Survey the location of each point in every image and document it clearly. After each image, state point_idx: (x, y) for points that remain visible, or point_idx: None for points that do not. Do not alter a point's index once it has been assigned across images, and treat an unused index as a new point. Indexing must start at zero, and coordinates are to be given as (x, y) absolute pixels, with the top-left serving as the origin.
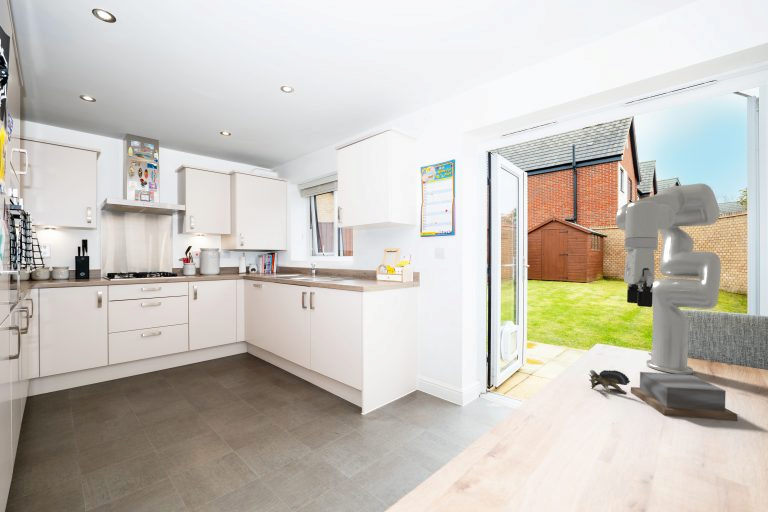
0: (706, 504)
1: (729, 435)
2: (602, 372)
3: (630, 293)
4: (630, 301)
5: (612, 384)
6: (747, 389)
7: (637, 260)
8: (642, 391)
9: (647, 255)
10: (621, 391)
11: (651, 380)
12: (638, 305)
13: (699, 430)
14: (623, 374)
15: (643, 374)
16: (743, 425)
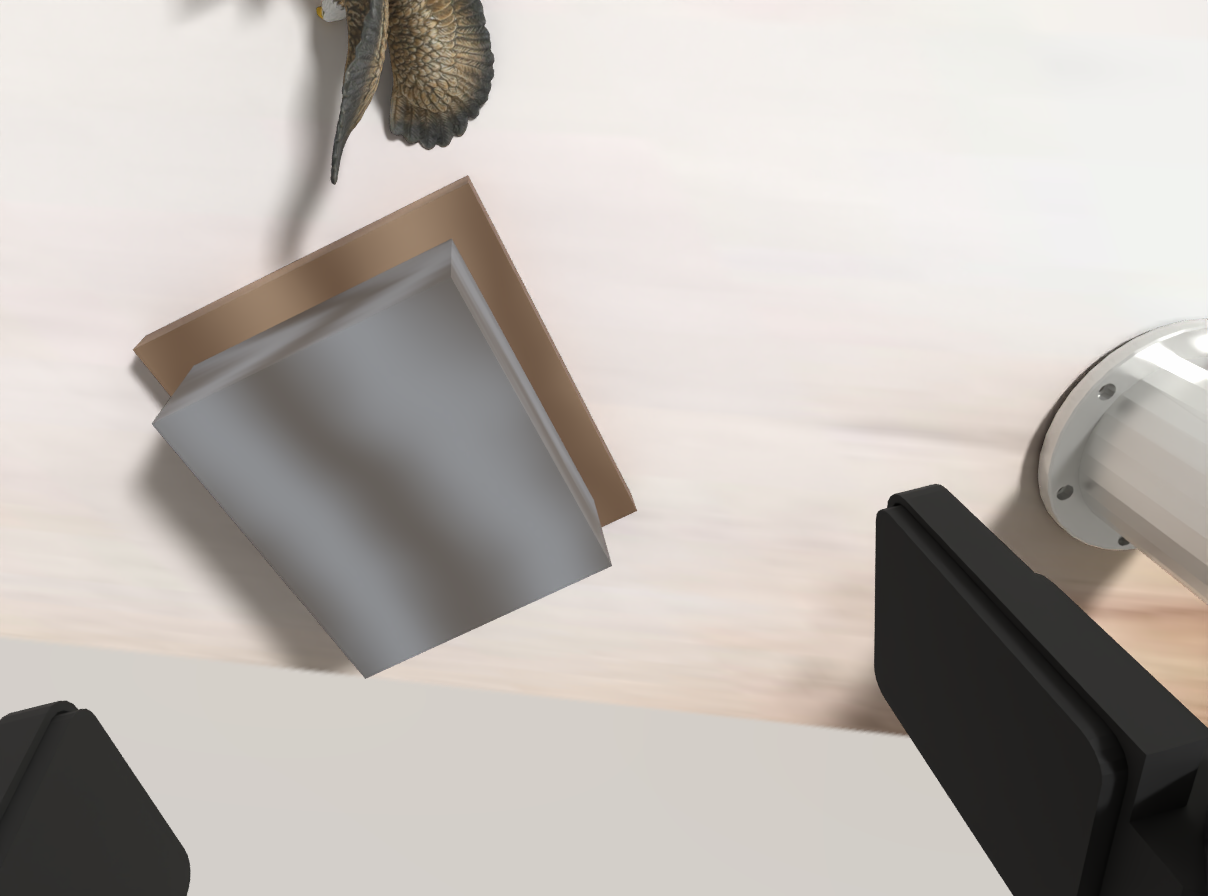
0: None
1: (112, 567)
2: None
3: (1019, 705)
4: (887, 556)
5: (398, 46)
6: None
7: None
8: (415, 252)
9: None
10: (390, 111)
11: (317, 337)
12: (18, 720)
13: (56, 467)
14: (334, 142)
15: (409, 296)
16: (317, 626)
